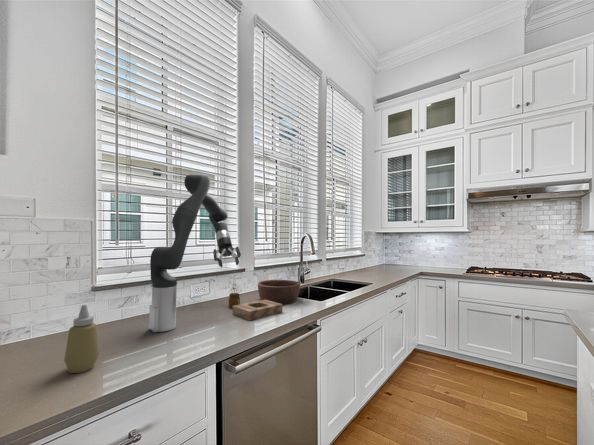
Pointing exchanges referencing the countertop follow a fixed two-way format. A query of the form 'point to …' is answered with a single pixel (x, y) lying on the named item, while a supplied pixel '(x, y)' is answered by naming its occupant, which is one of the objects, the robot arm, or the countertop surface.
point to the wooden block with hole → (257, 309)
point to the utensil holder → (234, 298)
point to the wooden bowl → (279, 290)
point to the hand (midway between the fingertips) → (229, 265)
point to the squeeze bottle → (82, 343)
